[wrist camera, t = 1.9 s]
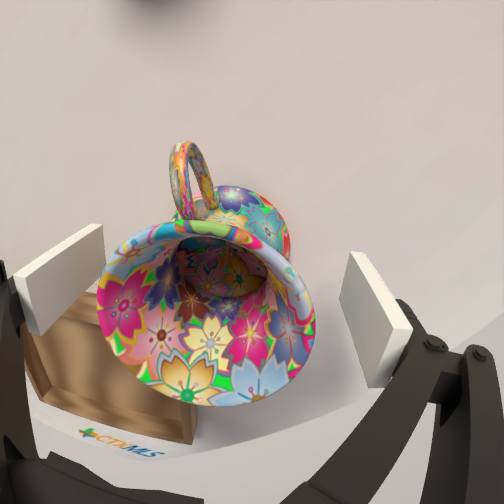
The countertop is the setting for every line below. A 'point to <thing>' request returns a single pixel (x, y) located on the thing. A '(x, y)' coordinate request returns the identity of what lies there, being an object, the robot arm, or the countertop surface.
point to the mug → (208, 296)
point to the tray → (99, 378)
